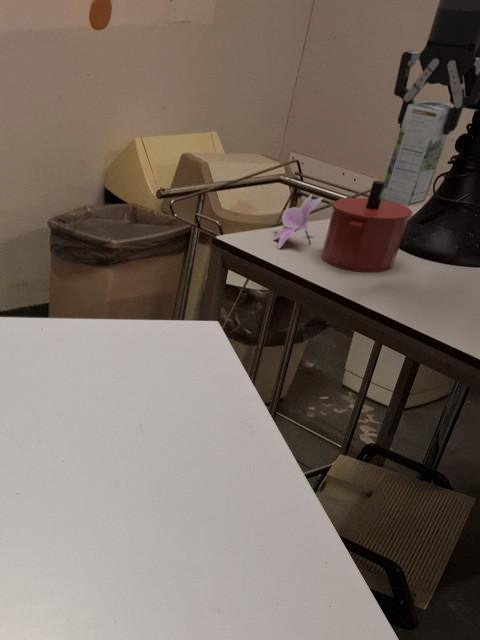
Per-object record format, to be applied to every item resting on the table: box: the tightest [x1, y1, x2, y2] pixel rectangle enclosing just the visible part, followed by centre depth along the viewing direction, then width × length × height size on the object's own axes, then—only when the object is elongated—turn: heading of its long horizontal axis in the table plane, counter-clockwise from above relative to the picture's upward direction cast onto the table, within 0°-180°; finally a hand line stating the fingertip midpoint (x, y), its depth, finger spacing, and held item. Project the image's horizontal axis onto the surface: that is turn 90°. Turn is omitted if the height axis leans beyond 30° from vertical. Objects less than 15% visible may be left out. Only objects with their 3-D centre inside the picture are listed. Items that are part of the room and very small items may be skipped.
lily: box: [272, 193, 324, 250], centre depth 175 cm, size 12×12×10 cm
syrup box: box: [379, 100, 454, 207], centre depth 141 cm, size 6×6×14 cm
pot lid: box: [332, 180, 413, 221], centre depth 162 cm, size 15×15×6 cm
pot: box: [321, 208, 409, 273], centre depth 167 cm, size 14×19×10 cm
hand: (424, 130), depth 138 cm, fingers closed on syrup box, 6 cm apart
